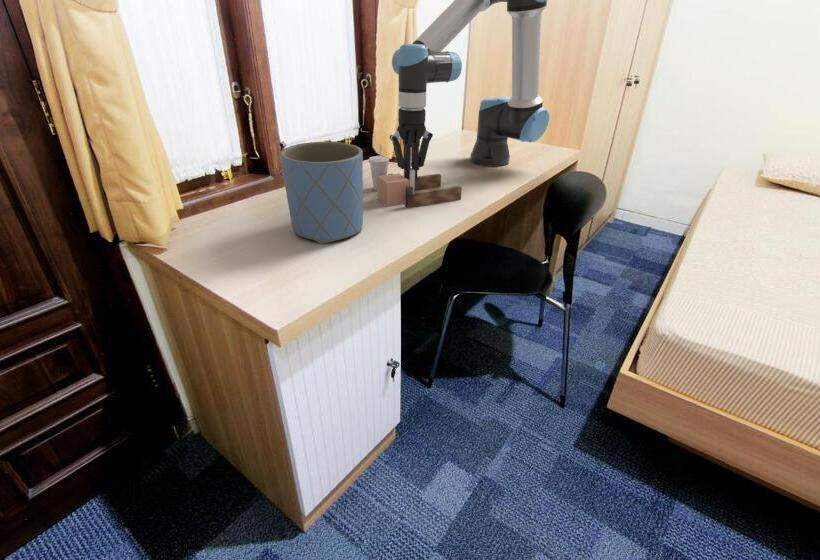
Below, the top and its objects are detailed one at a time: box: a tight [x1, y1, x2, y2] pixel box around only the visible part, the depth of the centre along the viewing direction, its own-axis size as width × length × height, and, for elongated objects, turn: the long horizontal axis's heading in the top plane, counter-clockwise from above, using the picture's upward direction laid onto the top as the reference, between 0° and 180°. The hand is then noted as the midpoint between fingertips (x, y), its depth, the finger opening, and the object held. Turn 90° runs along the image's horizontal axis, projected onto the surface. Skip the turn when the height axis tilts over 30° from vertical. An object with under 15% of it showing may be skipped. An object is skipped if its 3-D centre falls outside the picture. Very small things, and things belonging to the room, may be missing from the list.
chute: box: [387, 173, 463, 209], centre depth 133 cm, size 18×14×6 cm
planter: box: [279, 141, 364, 245], centre depth 107 cm, size 19×19×20 cm
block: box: [377, 173, 409, 207], centre depth 129 cm, size 7×7×7 cm
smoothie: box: [368, 144, 390, 192], centre depth 136 cm, size 6×6×14 cm
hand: (410, 190), depth 131 cm, fingers closed
